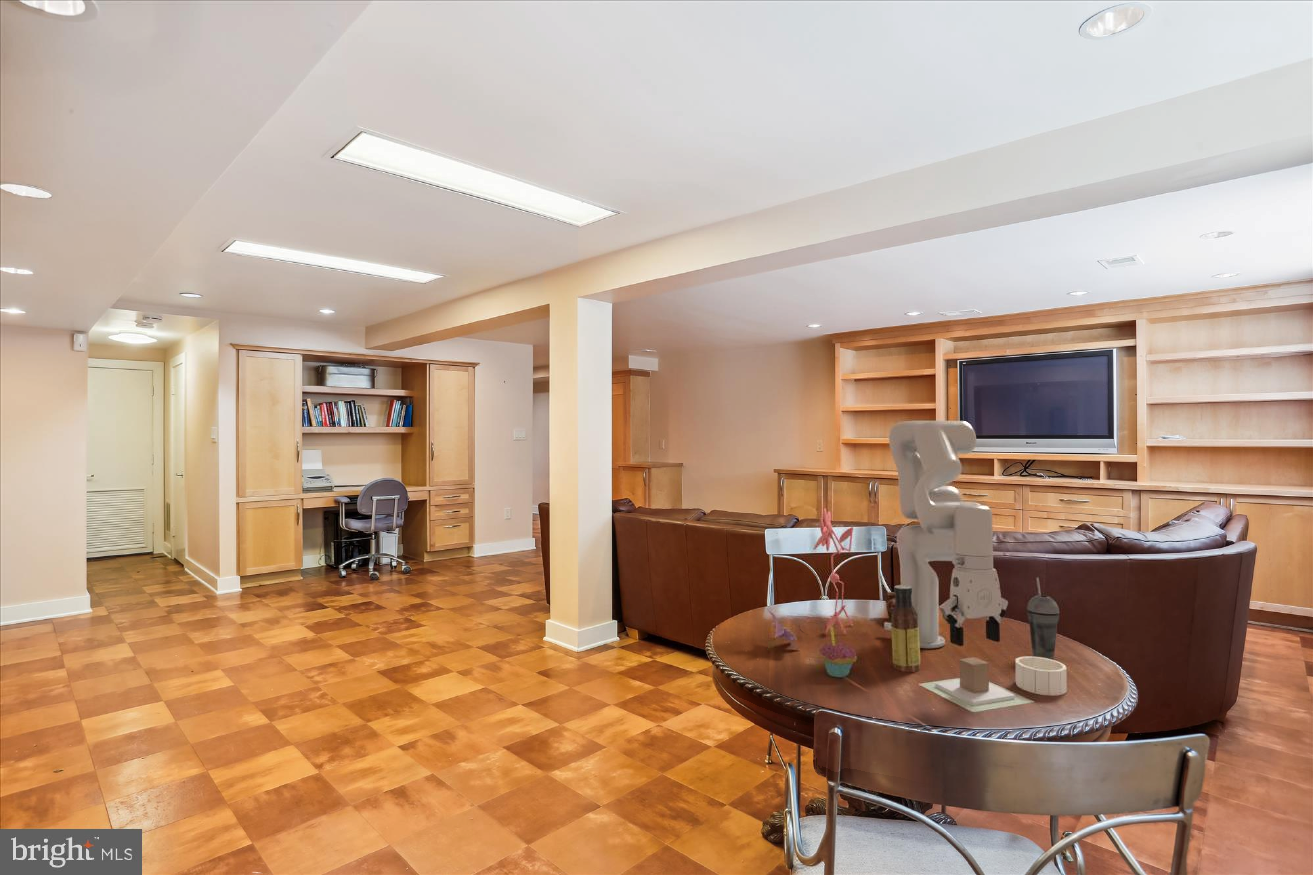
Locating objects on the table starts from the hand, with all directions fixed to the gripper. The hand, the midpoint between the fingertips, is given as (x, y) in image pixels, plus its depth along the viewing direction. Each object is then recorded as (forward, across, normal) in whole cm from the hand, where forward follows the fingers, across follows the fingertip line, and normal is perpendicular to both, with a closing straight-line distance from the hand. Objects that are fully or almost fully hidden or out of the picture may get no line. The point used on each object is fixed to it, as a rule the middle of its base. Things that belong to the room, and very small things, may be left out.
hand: (975, 642), depth 142 cm
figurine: (+10, -2, +55) cm, 56 cm away
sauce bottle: (+11, -3, +18) cm, 22 cm away
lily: (+11, -23, +42) cm, 49 cm away
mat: (+11, 0, +1) cm, 11 cm away
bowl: (+11, +17, -1) cm, 20 cm away
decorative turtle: (+10, +24, +52) cm, 58 cm away
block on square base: (+11, 0, +1) cm, 11 cm away
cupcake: (+11, -20, +21) cm, 31 cm away
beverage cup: (+11, +35, +14) cm, 39 cm away
